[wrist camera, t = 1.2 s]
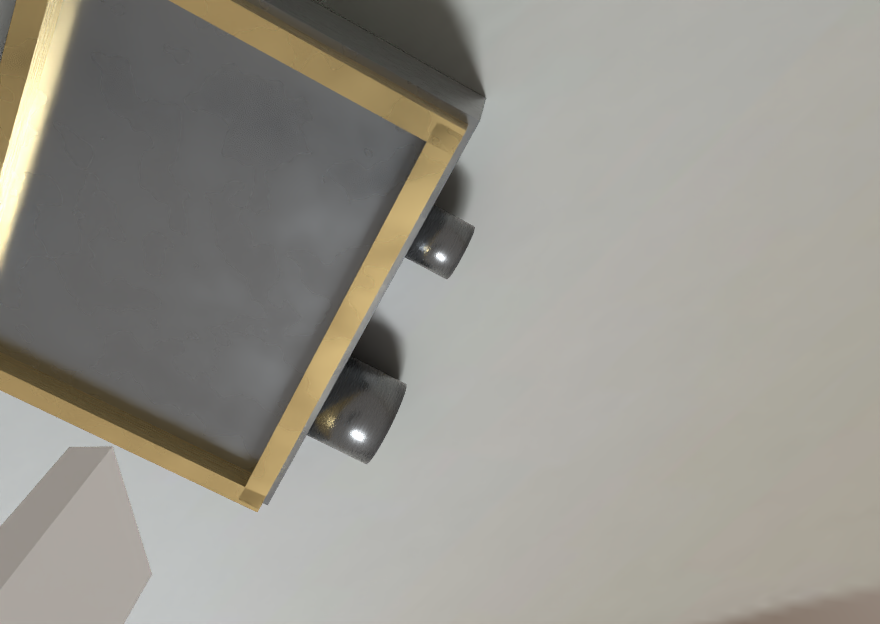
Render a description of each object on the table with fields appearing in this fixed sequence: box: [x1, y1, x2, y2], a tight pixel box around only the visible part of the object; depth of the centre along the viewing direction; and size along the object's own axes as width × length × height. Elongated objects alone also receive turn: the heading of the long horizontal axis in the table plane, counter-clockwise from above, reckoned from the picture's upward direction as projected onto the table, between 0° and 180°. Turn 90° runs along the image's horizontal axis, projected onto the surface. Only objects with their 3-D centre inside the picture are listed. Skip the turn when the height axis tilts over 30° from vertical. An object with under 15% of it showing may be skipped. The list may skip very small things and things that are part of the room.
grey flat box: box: [0, 0, 486, 512], centre depth 34 cm, size 19×20×5 cm
